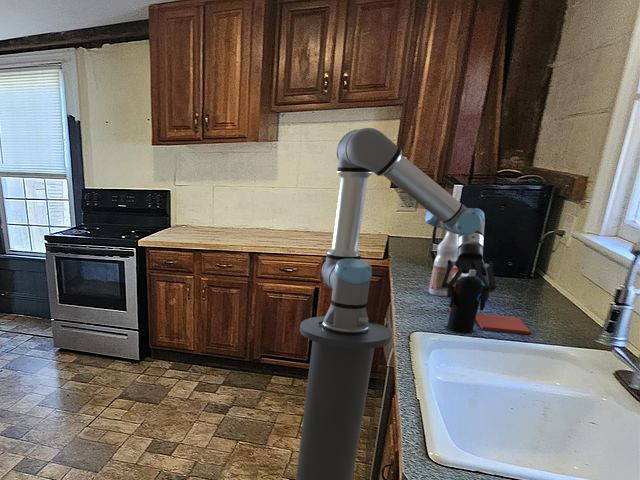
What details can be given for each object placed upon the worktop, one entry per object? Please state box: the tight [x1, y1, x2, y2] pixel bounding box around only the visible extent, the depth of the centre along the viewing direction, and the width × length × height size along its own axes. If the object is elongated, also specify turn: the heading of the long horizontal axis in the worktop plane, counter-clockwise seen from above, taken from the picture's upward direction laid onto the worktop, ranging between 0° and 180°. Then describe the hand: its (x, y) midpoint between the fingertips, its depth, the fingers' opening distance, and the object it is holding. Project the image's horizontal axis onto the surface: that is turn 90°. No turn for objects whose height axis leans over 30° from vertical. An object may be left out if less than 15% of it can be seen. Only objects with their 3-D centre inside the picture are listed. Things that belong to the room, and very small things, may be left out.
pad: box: [475, 313, 532, 336], centre depth 182 cm, size 14×18×1 cm
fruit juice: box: [428, 230, 459, 297], centre depth 219 cm, size 9×9×28 cm
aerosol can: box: [445, 270, 484, 334], centre depth 173 cm, size 8×8×20 cm
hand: (466, 306), depth 171 cm, fingers closed on aerosol can, 8 cm apart
